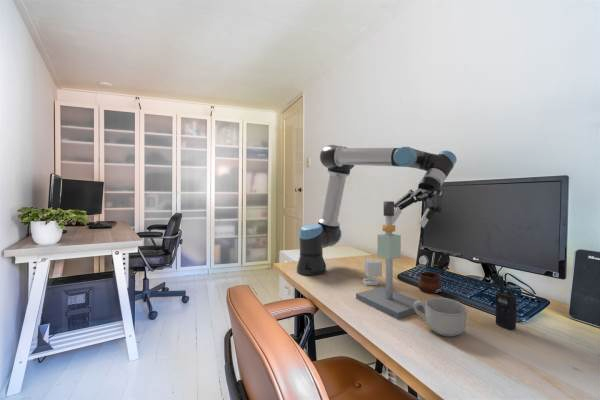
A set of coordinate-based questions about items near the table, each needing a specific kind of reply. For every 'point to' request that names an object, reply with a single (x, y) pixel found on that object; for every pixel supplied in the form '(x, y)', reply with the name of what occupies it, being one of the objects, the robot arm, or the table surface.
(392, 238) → the sleeve
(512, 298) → the two-way radio
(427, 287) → the ceramic pot
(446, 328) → the teacup
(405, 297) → the post
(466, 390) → the table surface
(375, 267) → the security camera
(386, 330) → the table surface
